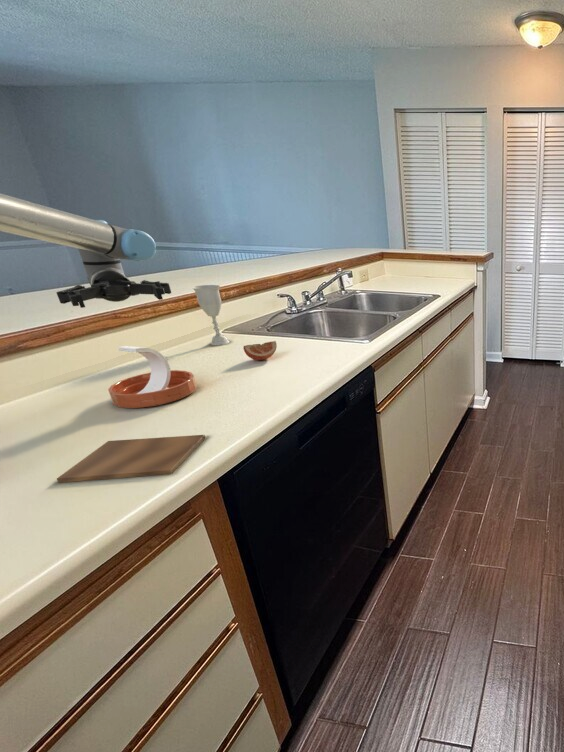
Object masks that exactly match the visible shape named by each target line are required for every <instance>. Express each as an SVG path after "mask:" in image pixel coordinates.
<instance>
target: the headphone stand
mask: <svg viewBox="0 0 564 752" xmlns="http://www.w3.org/2000/svg"><path fill="white" fill-rule="evenodd" d="M117 349H118V351H119V352H127V353H135V354H136V353H139V354H140V355H142V356H143V358H145V359H146V360H147V362H148V365H149V368H150V373H151V376H150V380H149V382H148V384H147V385H146V387H145V388H144V389H143V390H142V391H140V392H139V393H137V394H142V393H149V392H155V391H159V390H164V389H168V388H167V386H168V384H169V381H170V376H171V371H170V370H171V368H170V366H171V365H170V364H169V361H168V360H167V358H166V357H165V356H164V355H163V354H162V353H161V352H160V351H158V350H156V349H153V348H150V347H141V346H132V345H131V346H130V345H121V346H118V347H117Z"/></svg>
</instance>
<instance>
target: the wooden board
mask: <svg viewBox="0 0 564 752" xmlns="http://www.w3.org/2000/svg"><path fill="white" fill-rule="evenodd" d="M205 440H206V435H205V434H193V435H179V436H178V435H177V436H163V437H150V438H149V437H148V438H132V439H117V440H108V441H106V442H105V443H103V444H102V445H101V446H99V447H98V448H96V449H95V450H94V451H92V452H91V453H90V454H89V455H87V456H85V457H84V458H83V459H81V460H80V461H79V462H77V463H76V464H74V465H73V466H71V467H70V468H69V469H67V470H66V471H64V473H62V474H60V476H58V477H57V478H56V481H57V483H59V484H60V483H71V482H85V481H96V480H112V479H122V478H134V477H135V478H136V477H147V476H161V475H172V474H173V473H174V472H175V471H176V470H177V469H178V468H179V467H180V466H181V464H183V462H185V461H186V459H187V458H188V457H189V456H190V455H191V454H192V453H193V452H194V451H195V450H196V449H197V448H198V447H199V446H200V445H201V444H202V443H203V441H205Z"/></svg>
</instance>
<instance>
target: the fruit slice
mask: <svg viewBox="0 0 564 752" xmlns="http://www.w3.org/2000/svg"><path fill="white" fill-rule="evenodd" d="M277 347H278V346H277V341H276V340H274V341H267V342H264V343H254V344H246V345H243V351H244V353H245V355H246V356H247V357H248V358H250V359H252V360H255V361H264V360H268V359H269V358H272V357H273V355H274V354H275V352H276V351H277Z"/></svg>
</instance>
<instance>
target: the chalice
mask: <svg viewBox="0 0 564 752" xmlns="http://www.w3.org/2000/svg"><path fill="white" fill-rule="evenodd" d="M192 289H193V291H194V293H195V296H196V300H197V303H198V305H199V306H200V309H202V311H203V312H204V313H205V314H206V315H207V317H210V318H211V319H212V322H211V324H213V330H214V332H215V335H213V336H212V338H211V343H210V345H211V346H223V345H227V344H230V341H229V340H228V338H227V337H226V336H225V335H224V334H222V333H221V332H220V329H221V328H220V327H219V321H218V320H217V317H218V316H219V315H220V311H221V308H222V302H223V301H222V298H221V294H220V285H218V284H203V285H202V284H201V285H195V286H192Z"/></svg>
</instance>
